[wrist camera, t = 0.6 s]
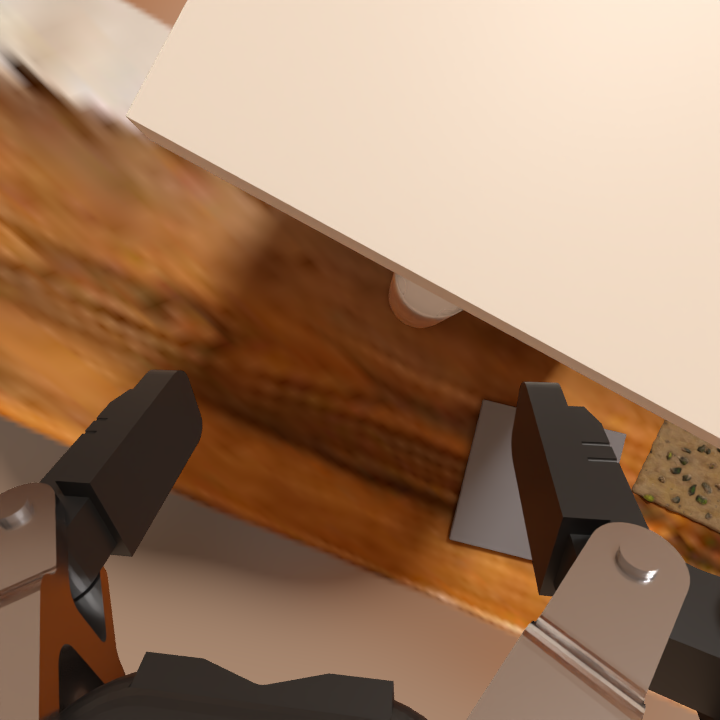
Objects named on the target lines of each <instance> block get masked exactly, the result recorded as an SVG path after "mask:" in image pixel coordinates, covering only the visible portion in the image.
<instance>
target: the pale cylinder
mask: <svg viewBox="0 0 720 720" xmlns="http://www.w3.org/2000/svg"><path fill="white" fill-rule="evenodd" d="M389 303H390V307H391V309H392V311H393V313H394V314H395V316H396V317H397V318H398V319H399V320H400V321H401V322H403V323H404V324H406V325H408V326H411V327H415V328H427V327H431V326H434V325H436V324H438V323H440V322H441V321H443V320H445V319H447V318H449V317H451V316H453V315H455V314H457V313H459V312H461V311H462V310H463V309H461V308H459V307H457V306H455V305H453V304H452V303H450V302H448V301H446V300H444V299H442V298H441V297H439V296H437V295H435V294H433V293H431V292H430V291H428V290H426V289H424V288H422V287H420V286H418V285H417V284H415V283H413V282H411V281H409V280H407V279H406V278H404V277H402V276H400V275H398V274H396V273H394V274H393V277H392V281H391V285H390V289H389Z"/></svg>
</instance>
